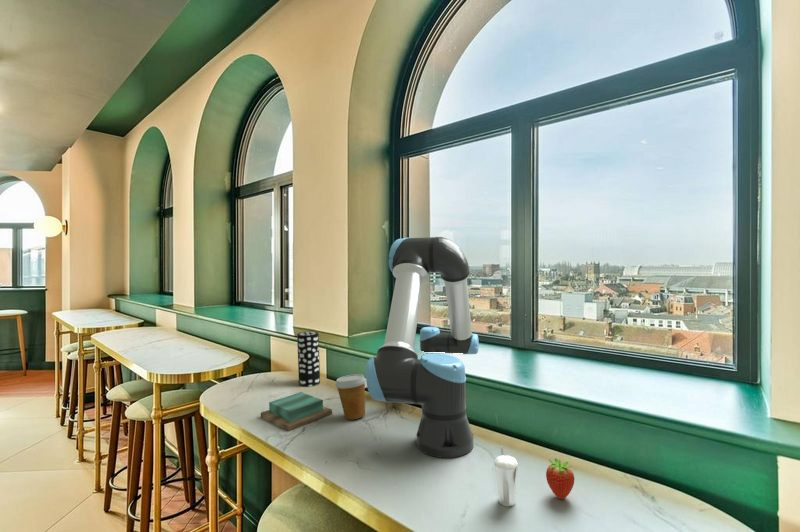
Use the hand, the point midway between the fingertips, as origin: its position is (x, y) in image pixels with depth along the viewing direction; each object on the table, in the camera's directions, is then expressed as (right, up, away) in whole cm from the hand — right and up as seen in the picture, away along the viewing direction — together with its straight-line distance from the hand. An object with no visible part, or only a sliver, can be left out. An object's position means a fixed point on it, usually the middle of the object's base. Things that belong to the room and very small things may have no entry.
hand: (371, 390), depth 133 cm
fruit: (+42, -7, -49) cm, 65 cm away
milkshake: (+31, -7, -50) cm, 59 cm away
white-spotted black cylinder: (-27, -6, +29) cm, 40 cm away
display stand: (-24, -7, -3) cm, 25 cm away
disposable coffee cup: (-5, -7, -5) cm, 10 cm away
